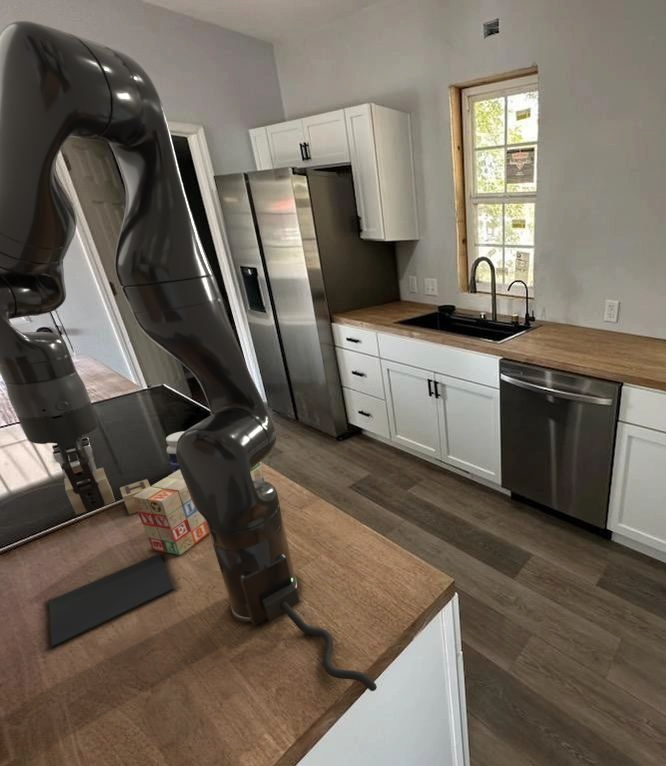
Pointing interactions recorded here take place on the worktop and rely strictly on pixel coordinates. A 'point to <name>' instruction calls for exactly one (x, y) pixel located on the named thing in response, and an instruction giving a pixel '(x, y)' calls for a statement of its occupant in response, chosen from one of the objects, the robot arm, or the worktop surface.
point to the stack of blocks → (174, 513)
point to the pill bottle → (173, 449)
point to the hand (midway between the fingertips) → (94, 500)
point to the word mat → (107, 599)
